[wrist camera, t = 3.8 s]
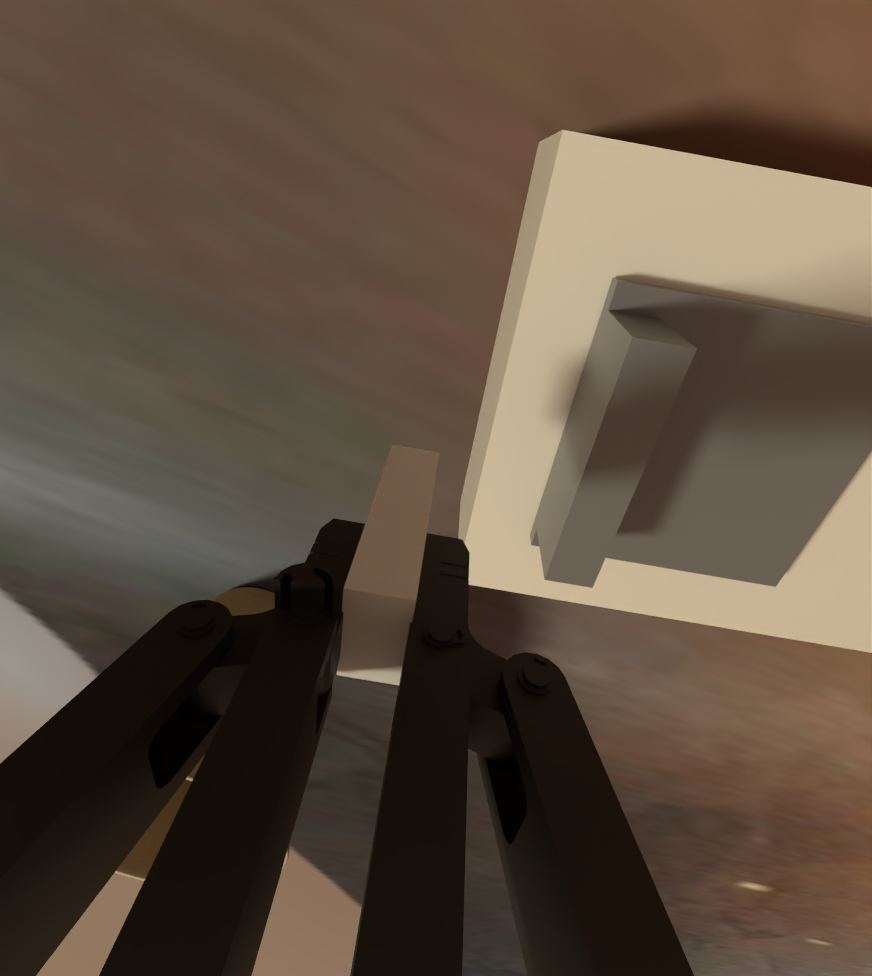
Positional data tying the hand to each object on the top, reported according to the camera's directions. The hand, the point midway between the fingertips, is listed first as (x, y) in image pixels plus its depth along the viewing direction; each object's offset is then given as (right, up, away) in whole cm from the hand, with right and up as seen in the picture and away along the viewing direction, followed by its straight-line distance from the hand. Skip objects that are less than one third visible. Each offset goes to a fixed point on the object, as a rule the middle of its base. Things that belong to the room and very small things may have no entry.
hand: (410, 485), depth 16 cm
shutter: (+12, +2, +5) cm, 14 cm away
